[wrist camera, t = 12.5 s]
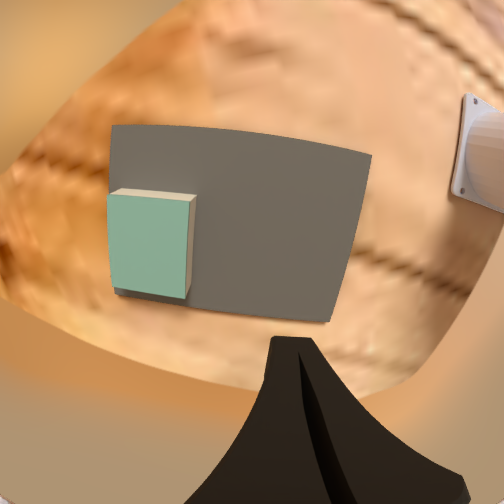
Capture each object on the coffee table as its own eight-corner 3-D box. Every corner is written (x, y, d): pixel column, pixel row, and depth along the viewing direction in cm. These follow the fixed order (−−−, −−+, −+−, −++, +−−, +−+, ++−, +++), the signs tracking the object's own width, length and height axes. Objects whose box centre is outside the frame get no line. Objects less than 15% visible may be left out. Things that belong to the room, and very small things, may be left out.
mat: (369, 154, 16) (372, 155, 16) (328, 319, 21) (329, 322, 20) (114, 125, 15) (112, 125, 15) (116, 291, 20) (114, 294, 20)
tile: (189, 202, 15) (106, 195, 15) (184, 298, 17) (112, 286, 17) (196, 194, 17) (121, 188, 17) (191, 283, 19) (123, 272, 19)
